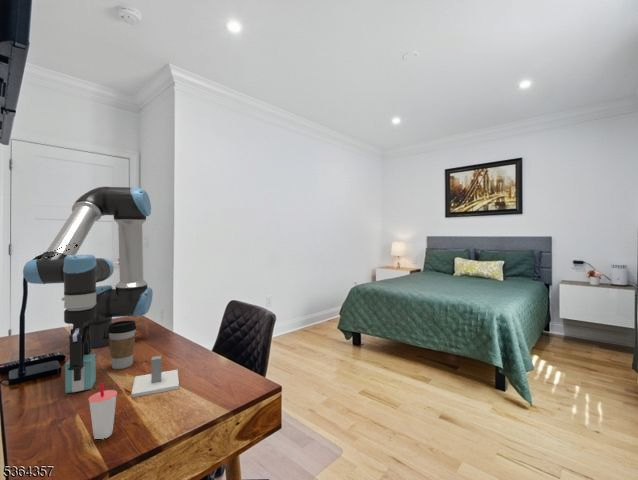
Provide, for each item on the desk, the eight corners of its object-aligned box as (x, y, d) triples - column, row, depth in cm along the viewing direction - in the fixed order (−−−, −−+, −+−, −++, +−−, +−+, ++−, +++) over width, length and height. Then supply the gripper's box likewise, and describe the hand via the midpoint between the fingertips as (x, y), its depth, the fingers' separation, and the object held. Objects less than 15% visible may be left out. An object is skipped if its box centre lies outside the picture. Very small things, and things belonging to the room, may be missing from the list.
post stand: (135, 379, 97) (135, 354, 97) (177, 372, 103) (177, 348, 102) (131, 397, 86) (131, 369, 86) (178, 388, 92) (178, 361, 92)
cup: (82, 439, 69) (82, 385, 69) (106, 425, 74) (106, 375, 74) (99, 445, 67) (99, 389, 67) (122, 430, 72) (122, 379, 72)
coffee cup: (122, 371, 103) (122, 326, 103) (101, 369, 104) (101, 324, 104) (142, 361, 111) (142, 319, 111) (121, 359, 113) (121, 318, 112)
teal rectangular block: (71, 383, 94) (71, 356, 94) (95, 379, 96) (95, 353, 96) (65, 393, 88) (65, 364, 88) (91, 388, 91) (91, 360, 91)
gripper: (73, 302, 99) (74, 374, 99) (53, 316, 82) (54, 404, 82) (101, 300, 102) (102, 370, 102) (88, 313, 85) (89, 398, 85)
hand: (81, 385), depth 92 cm, fingers closed on teal rectangular block, 6 cm apart
